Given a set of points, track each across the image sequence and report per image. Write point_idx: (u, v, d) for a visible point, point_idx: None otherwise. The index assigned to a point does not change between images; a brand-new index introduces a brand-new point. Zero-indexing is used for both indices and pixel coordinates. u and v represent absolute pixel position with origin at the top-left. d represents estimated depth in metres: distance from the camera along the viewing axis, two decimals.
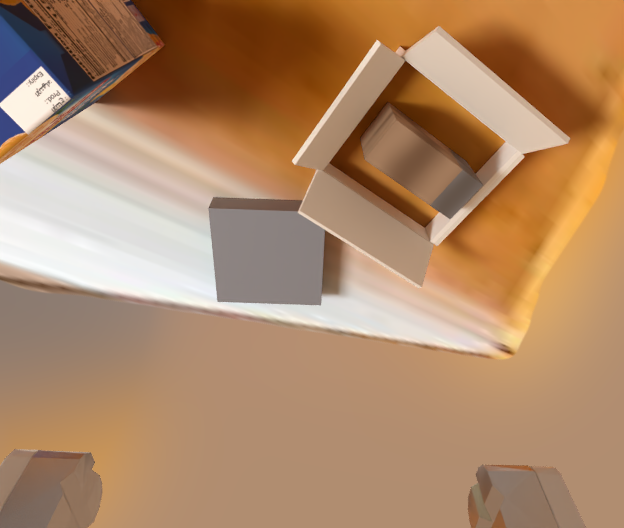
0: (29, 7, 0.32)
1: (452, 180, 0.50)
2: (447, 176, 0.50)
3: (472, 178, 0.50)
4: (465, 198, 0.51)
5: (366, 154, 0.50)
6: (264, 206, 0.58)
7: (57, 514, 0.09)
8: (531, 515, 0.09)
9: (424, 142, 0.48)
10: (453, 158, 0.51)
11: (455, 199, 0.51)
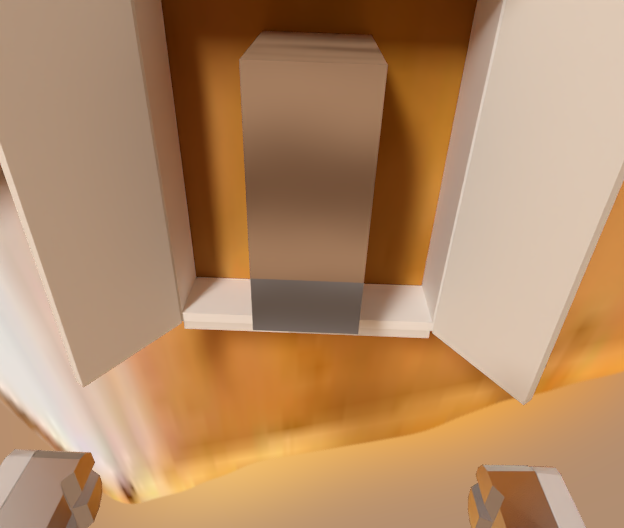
0: None
1: (329, 280, 0.21)
2: (331, 267, 0.20)
3: (358, 309, 0.22)
4: (311, 325, 0.22)
5: (253, 55, 0.17)
6: None
7: (57, 514, 0.09)
8: (531, 515, 0.09)
9: (372, 171, 0.18)
10: None
11: (298, 311, 0.22)
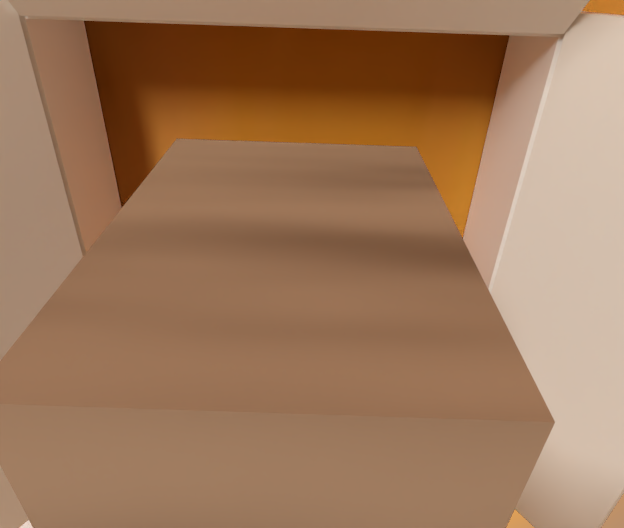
0: None
1: None
2: None
3: None
4: None
5: (55, 338, 0.05)
6: None
7: None
8: None
9: None
10: None
11: None
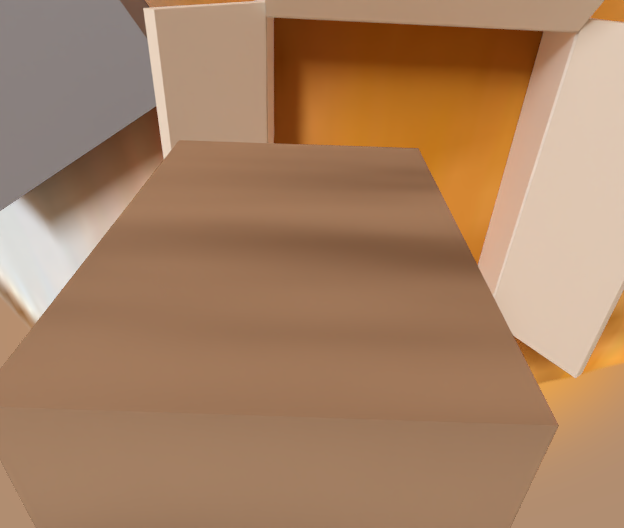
0: None
1: None
2: None
3: None
4: None
5: (60, 341, 0.05)
6: None
7: None
8: None
9: None
10: None
11: None
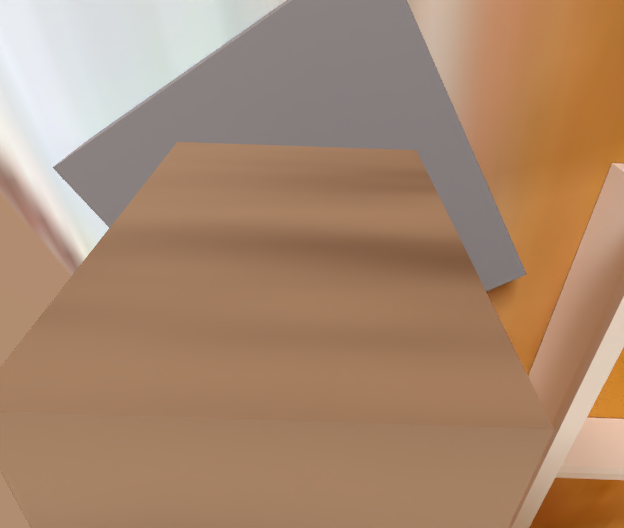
0: None
1: None
2: None
3: None
4: None
5: (57, 342, 0.05)
6: None
7: None
8: None
9: None
10: None
11: None
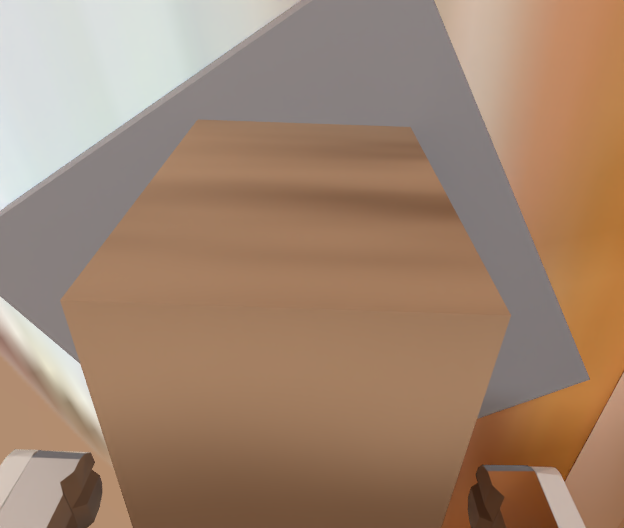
0: None
1: None
2: None
3: None
4: None
5: (119, 260, 0.06)
6: None
7: (57, 514, 0.09)
8: (531, 515, 0.09)
9: (439, 506, 0.07)
10: None
11: None
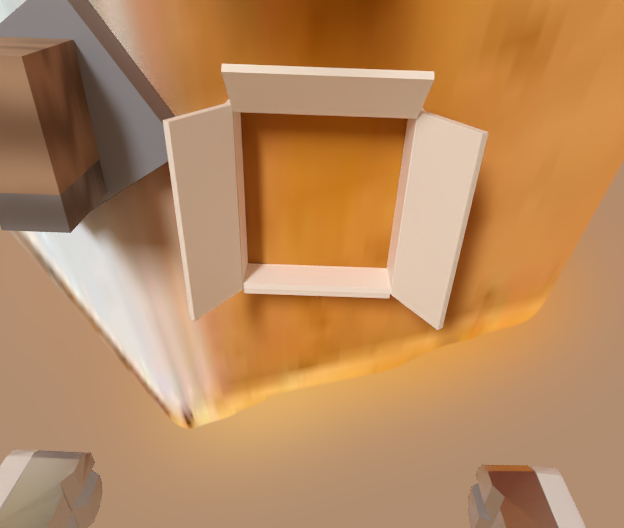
0: None
1: (38, 193, 0.33)
2: (36, 184, 0.33)
3: (63, 214, 0.34)
4: (38, 226, 0.35)
5: None
6: (124, 65, 0.36)
7: (57, 514, 0.09)
8: (531, 515, 0.09)
9: (37, 120, 0.30)
10: (73, 174, 0.35)
11: (26, 216, 0.34)
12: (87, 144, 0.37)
